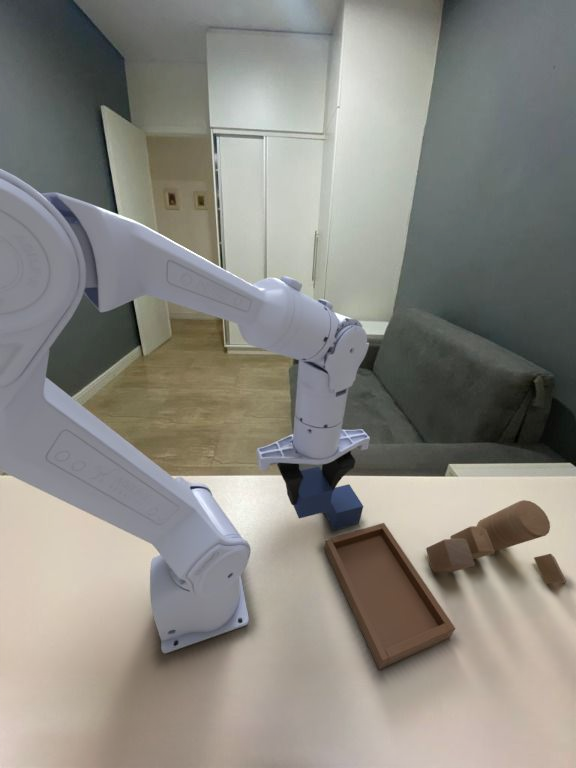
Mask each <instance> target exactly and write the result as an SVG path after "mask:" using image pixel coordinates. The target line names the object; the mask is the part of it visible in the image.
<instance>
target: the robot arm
mask: <svg viewBox="0 0 576 768" xmlns="http://www.w3.org/2000/svg"><path fill="white" fill-rule="evenodd" d="M302 287H303V283H301V281H298V280H297V279H295V278H293V277H289V276H286V275H282V276H281V277H280V279H279V278H277V277H266V278H263V279H259V280H258V281H256V282H254V283H250V282H248V281H247V280H244V279H243V278H241V277H239V276H237V275H235V274H233V273H232V272H230V271H228V270H226V269H225V268H222V267H221V266H219V265H217V264H215V263H213V262H212V261H210V260H208V259H206V258H205V257H202V256H201V255H199V254H197V253H195V252H193V251H192V250H190V249H188V248H186V247H185V246H183V245H181V244H179V243H177V242H176V241H173V240H172V239H170V238H168V237H167V236H164V235H163V234H161V233H159V232H157V231H156V230H153V229H152V228H150V227H148V226H146V225H144V224H142V223H141V222H139V221H136V220H134V219H131V218H129V217H126V216H124V215H121V214H118V213H116V212H113V211H111V210H107V209H106V208H103V207H100V206H97V205H94V204H92V203H90V202H87V201H84V200H81V199H78V198H75V197H72V196H68V195H66V194H63V193H60V192H57V191H55V192H45V193H44V192H43V193H40V192H39V191H38V190H37V189H36V188H34V187H33V186H31V185H30V184H28V183H27V182H25V181H23V180H22V179H21V178H19V177H18V176H16V175H14V174H12V173H10V172H8V171H6V170H4V169H2V168H0V472H2V473H5V474H7V475H9V476H11V477H13V478H15V479H17V480H19V481H21V482H22V483H25V484H27V485H29V486H31V487H34V488H36V489H38V490H40V491H42V492H43V493H46V494H48V495H49V496H51V497H54V498H57V499H58V500H60V501H62V502H65V503H66V504H69V505H70V506H72V507H75V508H77V509H78V510H81V511H83V512H85V513H86V514H89V515H91V516H93V517H95V518H97V519H99V520H101V521H103V522H106V523H107V524H109V525H112V526H114V527H116V528H118V529H119V530H122V531H124V532H126V533H128V534H130V535H132V536H134V537H136V538H138V539H140V540H142V541H145V542H147V543H149V544H151V545H152V546H153V547H154V549H155V550H156V551H157V553H159V555H156V556H154V557H153V558H151V561H150V568H149V569H150V570H149V571H150V572H149V573H150V574H149V594H150V595H149V597H150V605H151V606H150V607H151V612H152V617H153V620H154V623H155V626H156V629H157V633H158V635H159V639H160V641H161V642H160V649H161V652H162V653H163V654H168V653H171V652H174V651H177V650H179V649H182V648H185V647H188V646H191V645H193V644H194V645H195V644H197V643H201V642H203V641H205V640H208V639H211V638H214V637H216V636H220V635H222V634H225V633H228V632H231V631H234V630H237V629H239V628H242V627H245V626H247V625H248V624H249V621H250V618H249V613H248V608H247V602H246V601H247V600H246V597H245V592H244V587H243V581H242V578H241V577H242V576H241V575H242V574H243V572H244V571H245V569H246V567H247V565H248V563H249V559H250V557H251V546H250V544H249V542H248V541H247V540H246V539H245V538H243V537H242V535H241V534H240V532H239V531H238V530H237V528H236V527H235V525H234V524H233V522H232V521H231V520H230V518H229V517H228V515H227V514H226V513H225V511H224V510H223V509H222V507H221V506H220V504H219V503H218V502H217V500H216V499H215V498H214V495H213V494H212V493H213V492H212V491H211V489H210V488H209V487H208V486H207V485H205V484H203V483H199V482H189V481H187V480H186V479H184V478H183V477H182V476H178V477H176V478H175V477H173V476H172V475H170V474H169V473H168V472H167V471H166V470H164V469H163V468H162V467H160V466H159V465H158V464H157V463H156V462H154V461H153V460H151V459H150V457H148V456H147V455H145V453H143V452H141V451H140V450H139V449H138V448H137V447H135V446H134V445H133V444H131V443H130V442H129V441H127V439H125V438H123V437H122V436H121V435H120V434H119V433H117V431H115V430H114V429H112V428H111V427H110V426H108V425H107V424H106V423H105V422H103V421H102V420H101V419H100V418H98V417H97V415H95V414H94V413H92V412H90V410H88V409H87V408H86V407H85V406H83V405H82V404H80V402H79V401H77V400H76V399H75V398H73V397H72V396H71V395H70V394H68V393H67V392H66V391H64V390H63V389H61V387H59V386H58V385H57V384H56V383H54V382H53V381H51V380H50V379H49V378H48V377H47V372H48V371H47V370H48V364H49V358H50V357H49V356H50V351H51V350H50V348H51V347H52V345H53V344H54V343H55V341H56V340H57V338H58V337H59V335H60V334H61V333H62V331H63V330H64V329H65V327H66V326H67V324H68V323H69V321H70V320H71V319H72V317H73V315H74V314H75V312H76V310H77V308H78V307H79V305H80V303H81V301H82V299H83V296H85V297H86V298H87V299H88V300H89V301H90V303H91V304H92V305H93V306H94V308H96V309H97V310H98V312H99V313H106V312H110V311H112V310H114V309H116V308H119V307H121V306H123V305H125V304H127V303H130V302H132V301H134V300H136V299H139V298H141V297H144V296H149V297H153V298H156V299H159V300H162V301H166V302H168V303H172V304H175V305H178V306H181V307H184V308H187V309H191V310H193V311H196V312H200V313H203V314H206V315H209V316H213V317H215V318H219V319H222V320H225V321H228V322H230V323H231V322H232V323H234V324H236V325H237V328H238V330H239V333H240V335H241V337H242V339H243V340H244V342H245V343H247V344H248V345H250V346H252V347H255V348H258V349H261V350H263V351H268V352H271V353H274V354H277V355H281V356H284V357H287V358H290V359H293V360H296V361H298V365H297V366H298V367H297V380H296V394H295V407H294V418H293V419H294V420H293V430H292V431H293V432H292V434H289V435H287V436H285V437H283V438H281V439H279V440H277V441H274V442H272V443H270V444H268V445H265V446H261V447H257V448H256V462H257V465H258V468H259V470H260V472H263V471H264V472H265V471H268V470H270V466H273V465H277V468H278V470H279V473H280V475H281V478H282V480H283V481H284V484H285V488H286V495H287V497H288V499H289V502H290V504H291V506H293V505H295V504H297V501H298V493H299V487H300V484H301V482H302V480H303V478H304V477H303V475H302V473H301V471H300V470H301V469H300V465H314V466H315V465H317V466H321V471H322V472H323V474H324V476H325V478H326V479H327V481H328V483H329V484H330V486H331V488H332V490H334V489H335V487H337V486H338V484H339V482H340V481H341V480H342V478H344V476H345V475H346V474H348V473H349V472H350V471H351V470H352V469H354V468H355V464H356V459H355V457H354V456H353V454H352V450H353V449H357V448H358V450H360V451H365V450H368V449H369V445H370V440H371V437H370V436H369V435H368V434H367V432H365V430H364V429H363V428H360V429H343V423H344V417H345V412H346V406H347V400H348V395H349V388H350V387H352V386H353V385H354V382H355V381H356V378H357V374H358V370H359V368H360V366H361V364H362V362H363V361H364V359H365V358H366V356H367V353H368V350H369V346H370V342H368V335H367V332H366V330H365V329H364V328H363V325H362V323H361V322H360V321H359V320H358V319H355V318H353V317H349V316H347V315H344V314H341V313H338V312H335V311H334V310H333V308H334V304H333V303H332V302H330V301H328V300H327V299H323V298H319V299H317V300H316V299H314V298H312V297H311V296H309V295H307V294H306V293H304V292H302V291H301V290H302ZM239 621H241V622H239ZM176 643H177V644H176ZM175 644H176V645H175Z"/></svg>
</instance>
